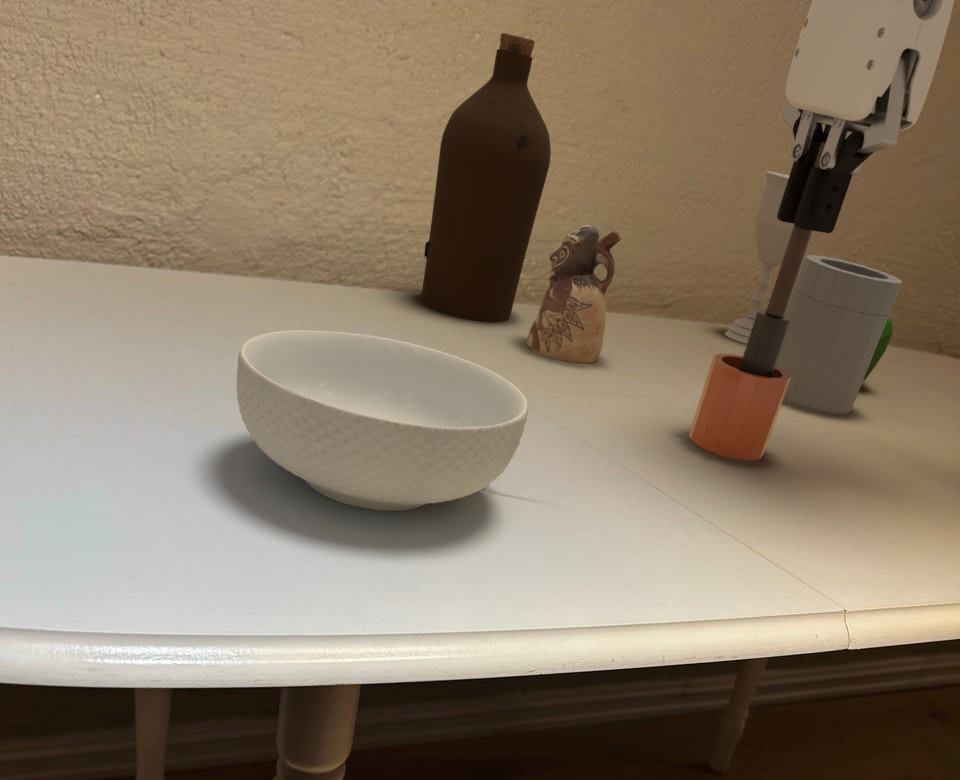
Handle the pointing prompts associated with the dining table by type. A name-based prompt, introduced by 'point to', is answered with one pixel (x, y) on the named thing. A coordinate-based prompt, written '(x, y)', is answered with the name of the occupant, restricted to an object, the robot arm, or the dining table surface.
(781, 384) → the holder
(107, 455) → the dining table surface
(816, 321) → the gray cylindrical pot
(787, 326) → the brush
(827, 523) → the dining table surface
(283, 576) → the dining table surface
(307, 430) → the cereal bowl
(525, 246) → the olive oil
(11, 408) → the dining table surface
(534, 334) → the figurine
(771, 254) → the chalice
